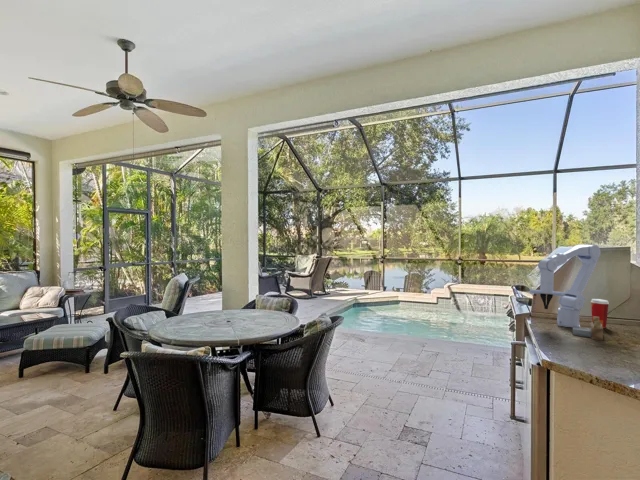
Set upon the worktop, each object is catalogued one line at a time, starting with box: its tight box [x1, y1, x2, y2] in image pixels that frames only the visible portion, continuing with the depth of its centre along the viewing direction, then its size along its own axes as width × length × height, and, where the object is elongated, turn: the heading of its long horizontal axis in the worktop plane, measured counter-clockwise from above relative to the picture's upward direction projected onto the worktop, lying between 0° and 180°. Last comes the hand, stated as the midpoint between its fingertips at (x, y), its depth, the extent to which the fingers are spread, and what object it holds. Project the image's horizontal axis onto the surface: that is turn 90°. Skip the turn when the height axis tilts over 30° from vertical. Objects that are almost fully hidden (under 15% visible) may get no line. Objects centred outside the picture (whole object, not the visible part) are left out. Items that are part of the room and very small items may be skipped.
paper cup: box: [590, 298, 610, 329], centre depth 182 cm, size 8×8×14 cm
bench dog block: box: [590, 316, 604, 342], centre depth 165 cm, size 4×14×8 cm, turn 144°
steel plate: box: [572, 326, 591, 338], centre depth 168 cm, size 7×7×3 cm
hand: (546, 308), depth 180 cm, fingers closed
